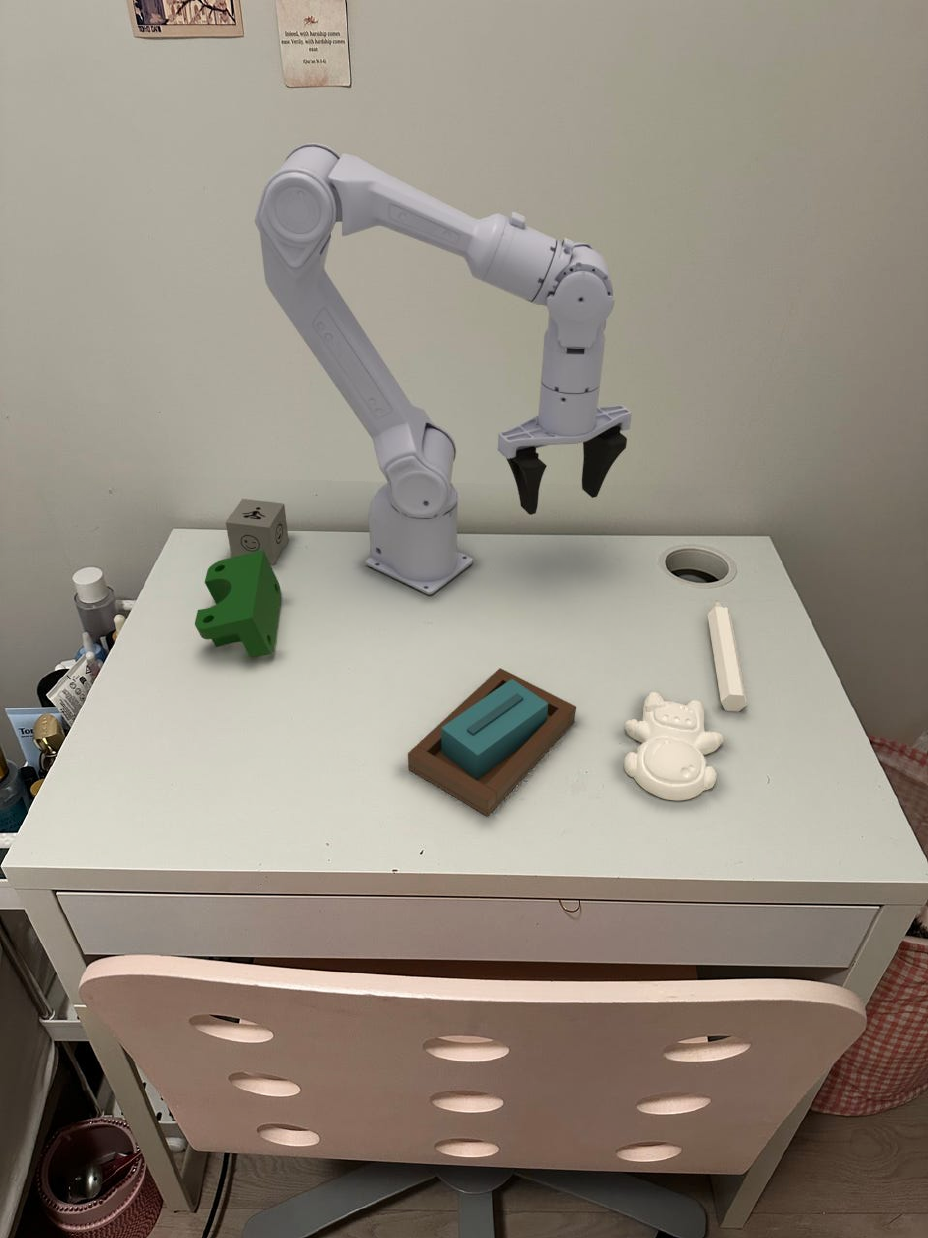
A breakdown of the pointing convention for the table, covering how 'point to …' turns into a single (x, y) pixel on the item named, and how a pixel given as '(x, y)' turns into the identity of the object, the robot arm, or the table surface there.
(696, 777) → the cream flat figure
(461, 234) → the robot arm
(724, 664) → the marker
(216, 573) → the clamp
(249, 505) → the dice cube
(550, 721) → the frame
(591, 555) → the table surface
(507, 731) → the teal rectangular block
